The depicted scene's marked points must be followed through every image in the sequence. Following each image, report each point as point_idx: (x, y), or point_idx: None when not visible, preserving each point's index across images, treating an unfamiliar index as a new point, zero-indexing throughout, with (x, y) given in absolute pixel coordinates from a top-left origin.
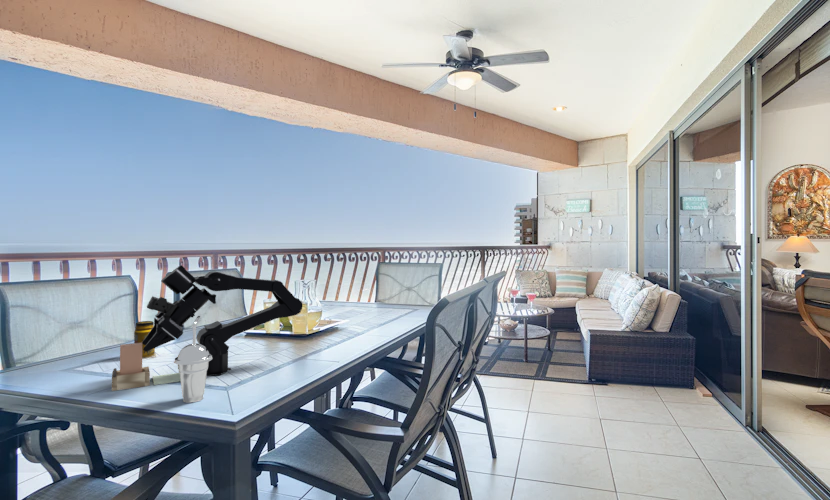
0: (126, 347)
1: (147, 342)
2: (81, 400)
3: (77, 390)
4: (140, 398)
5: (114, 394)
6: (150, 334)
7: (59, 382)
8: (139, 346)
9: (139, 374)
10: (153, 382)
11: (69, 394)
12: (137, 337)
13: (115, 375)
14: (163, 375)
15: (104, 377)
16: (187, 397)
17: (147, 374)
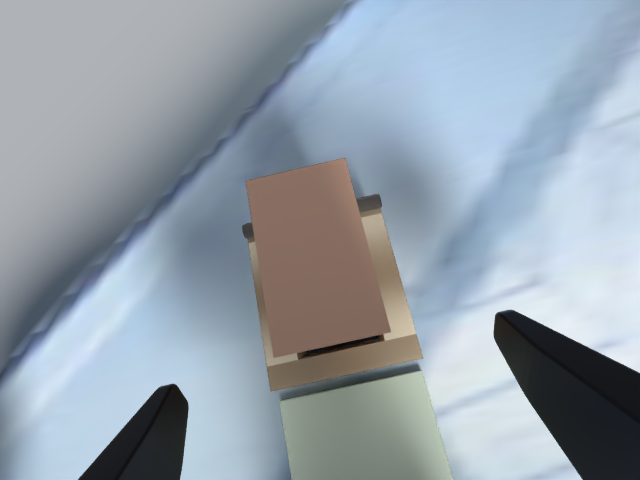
0: (257, 228)
1: (512, 364)
2: (190, 175)
3: (322, 125)
4: (108, 375)
5: (212, 262)
6: (601, 416)
7: (454, 38)
8: (272, 331)
9: (263, 339)
10: (328, 390)
11: (281, 118)
12: None
13: (244, 234)
14: (425, 428)
15: (488, 159)
16: None
17: (270, 378)
